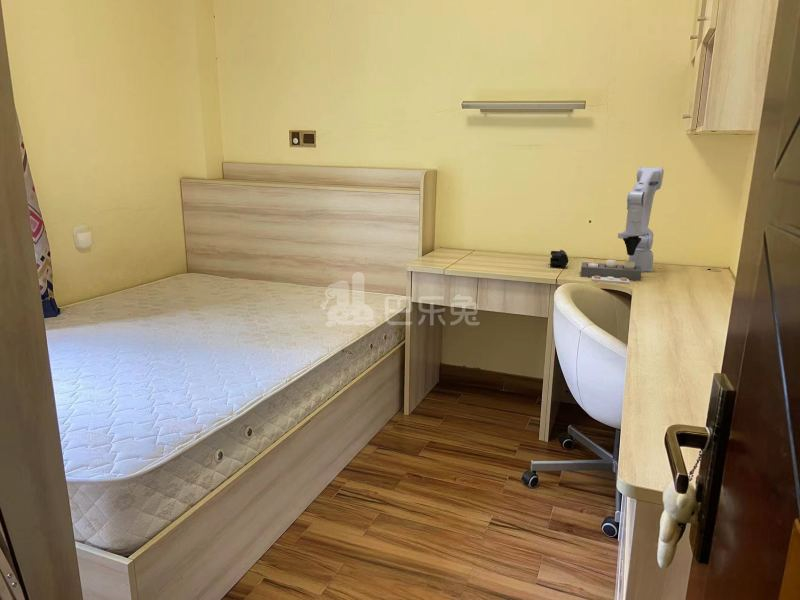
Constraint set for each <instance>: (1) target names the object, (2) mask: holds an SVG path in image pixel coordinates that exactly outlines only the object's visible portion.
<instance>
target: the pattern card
mask: <svg viewBox="0 0 800 600" xmlns="http://www.w3.org/2000/svg"><path fill="white" fill-rule="evenodd" d="M591 282H598V283H610V284H625V285H630V280H629V279H627V278H624V277H621V278H614V277H611V276H608V277H601V276H597V275H595V276H592V277H591Z"/></svg>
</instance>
